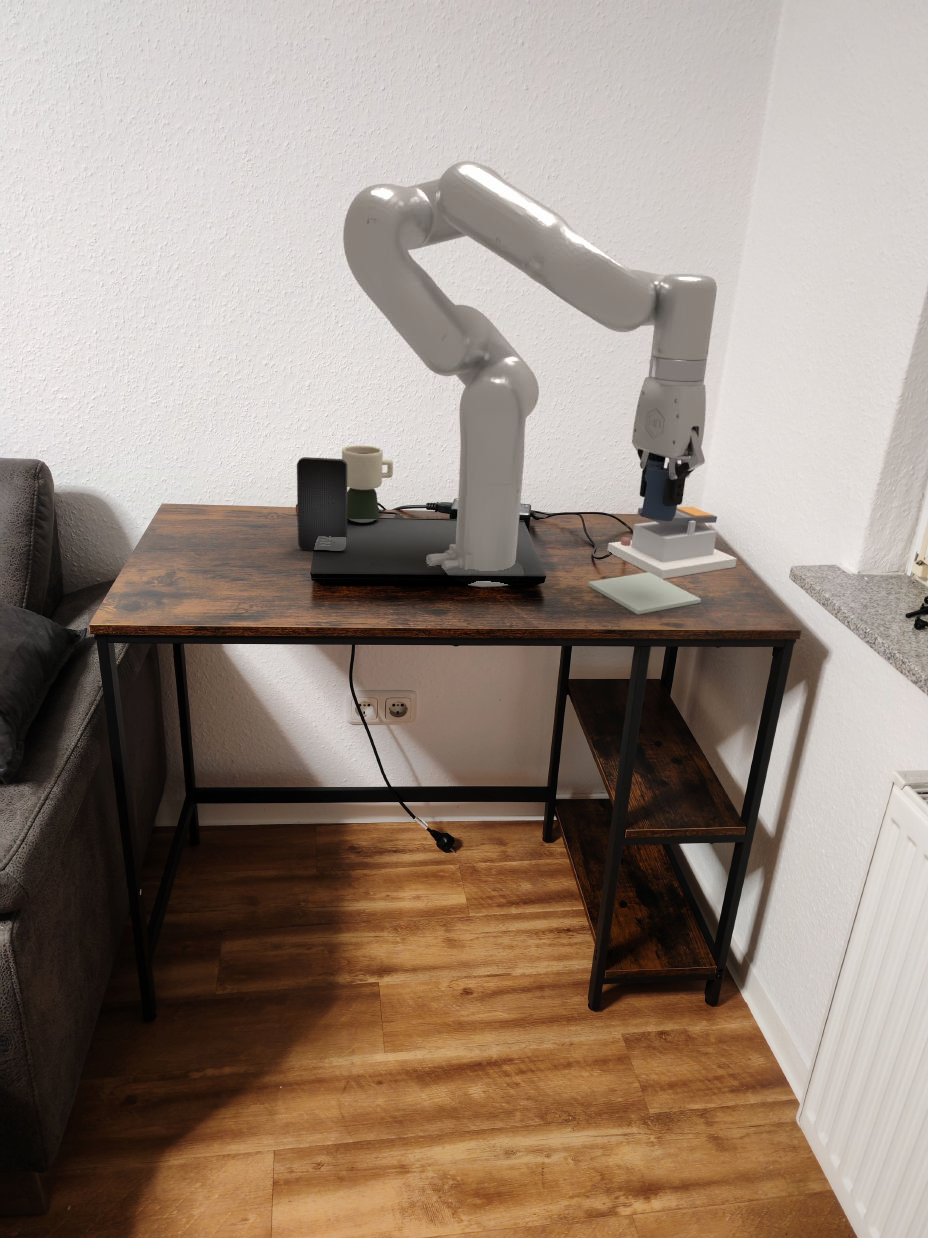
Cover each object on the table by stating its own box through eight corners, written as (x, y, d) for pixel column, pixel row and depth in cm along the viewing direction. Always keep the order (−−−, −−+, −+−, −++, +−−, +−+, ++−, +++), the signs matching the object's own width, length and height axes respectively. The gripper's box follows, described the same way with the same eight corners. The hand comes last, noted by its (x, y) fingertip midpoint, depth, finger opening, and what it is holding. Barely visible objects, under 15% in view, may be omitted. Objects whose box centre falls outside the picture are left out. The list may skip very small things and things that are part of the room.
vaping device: (638, 513, 133) (652, 431, 129) (674, 518, 132) (689, 436, 128) (637, 517, 131) (652, 434, 126) (674, 522, 130) (690, 439, 125)
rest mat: (637, 614, 129) (638, 610, 129) (587, 585, 138) (588, 581, 138) (700, 602, 135) (701, 598, 134) (648, 575, 144) (648, 572, 144)
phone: (347, 549, 147) (347, 459, 141) (346, 552, 146) (346, 460, 140) (298, 547, 147) (296, 456, 141) (297, 549, 146) (295, 458, 140)
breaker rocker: (661, 524, 144) (662, 517, 144) (637, 514, 149) (638, 507, 148) (715, 523, 150) (717, 515, 149) (691, 512, 155) (692, 505, 154)
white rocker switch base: (661, 579, 143) (668, 532, 140) (607, 551, 154) (612, 507, 151) (735, 566, 150) (743, 522, 147) (678, 541, 161) (685, 499, 158)
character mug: (387, 515, 166) (389, 444, 161) (395, 526, 160) (397, 454, 155) (328, 516, 163) (328, 444, 158) (333, 528, 157) (333, 454, 152)
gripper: (617, 363, 128) (604, 488, 135) (699, 381, 115) (680, 519, 122) (657, 361, 132) (643, 484, 139) (742, 378, 118) (721, 513, 126)
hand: (660, 499), depth 130 cm, fingers closed on vaping device, 4 cm apart
